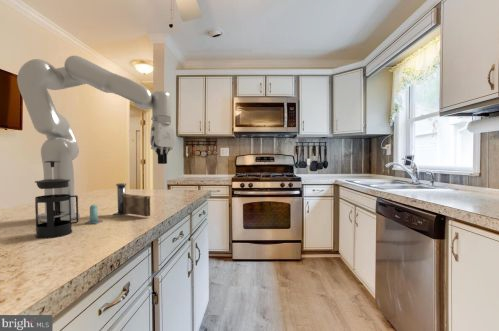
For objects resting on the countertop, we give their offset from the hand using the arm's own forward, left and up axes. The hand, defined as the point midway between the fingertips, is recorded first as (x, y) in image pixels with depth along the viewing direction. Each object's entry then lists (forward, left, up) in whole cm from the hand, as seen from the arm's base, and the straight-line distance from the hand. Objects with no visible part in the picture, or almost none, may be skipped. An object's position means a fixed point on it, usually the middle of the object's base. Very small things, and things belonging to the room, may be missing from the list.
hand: (162, 163), depth 117 cm
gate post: (-11, -12, -21) cm, 27 cm away
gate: (-3, -11, -20) cm, 23 cm away
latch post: (-6, -26, -21) cm, 34 cm away
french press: (-1, -40, -21) cm, 45 cm away
